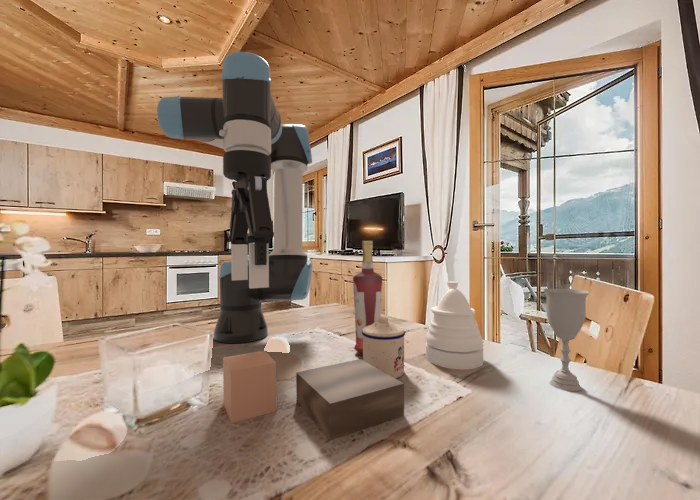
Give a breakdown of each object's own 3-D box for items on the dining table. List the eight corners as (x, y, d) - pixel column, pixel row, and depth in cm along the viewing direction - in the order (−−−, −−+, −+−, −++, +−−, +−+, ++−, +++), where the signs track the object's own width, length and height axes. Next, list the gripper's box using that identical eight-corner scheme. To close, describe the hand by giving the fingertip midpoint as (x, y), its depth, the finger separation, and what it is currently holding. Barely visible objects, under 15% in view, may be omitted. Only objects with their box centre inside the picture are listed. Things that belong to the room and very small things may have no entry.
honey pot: (424, 349, 84) (424, 279, 84) (476, 351, 82) (476, 280, 82) (428, 367, 72) (427, 285, 71) (489, 371, 70) (489, 286, 69)
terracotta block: (223, 404, 56) (223, 357, 56) (264, 394, 59) (264, 350, 59) (231, 423, 50) (230, 370, 49) (276, 411, 53) (276, 362, 53)
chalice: (539, 385, 62) (539, 291, 62) (547, 374, 67) (547, 287, 67) (586, 397, 57) (586, 294, 57) (591, 385, 62) (591, 290, 62)
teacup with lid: (404, 382, 64) (404, 323, 64) (358, 379, 66) (358, 321, 66) (406, 361, 75) (406, 311, 75) (367, 358, 77) (367, 309, 77)
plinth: (296, 401, 56) (296, 372, 56) (360, 384, 63) (360, 359, 63) (330, 439, 45) (330, 403, 45) (404, 415, 52) (403, 383, 52)
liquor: (385, 357, 78) (385, 240, 78) (355, 358, 77) (355, 240, 77) (379, 347, 86) (378, 241, 85) (351, 349, 85) (350, 241, 84)
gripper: (212, 168, 63) (213, 278, 63) (239, 125, 41) (240, 294, 41) (252, 172, 66) (252, 276, 67) (296, 135, 45) (297, 290, 45)
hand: (248, 283), depth 54 cm, fingers open, 13 cm apart
